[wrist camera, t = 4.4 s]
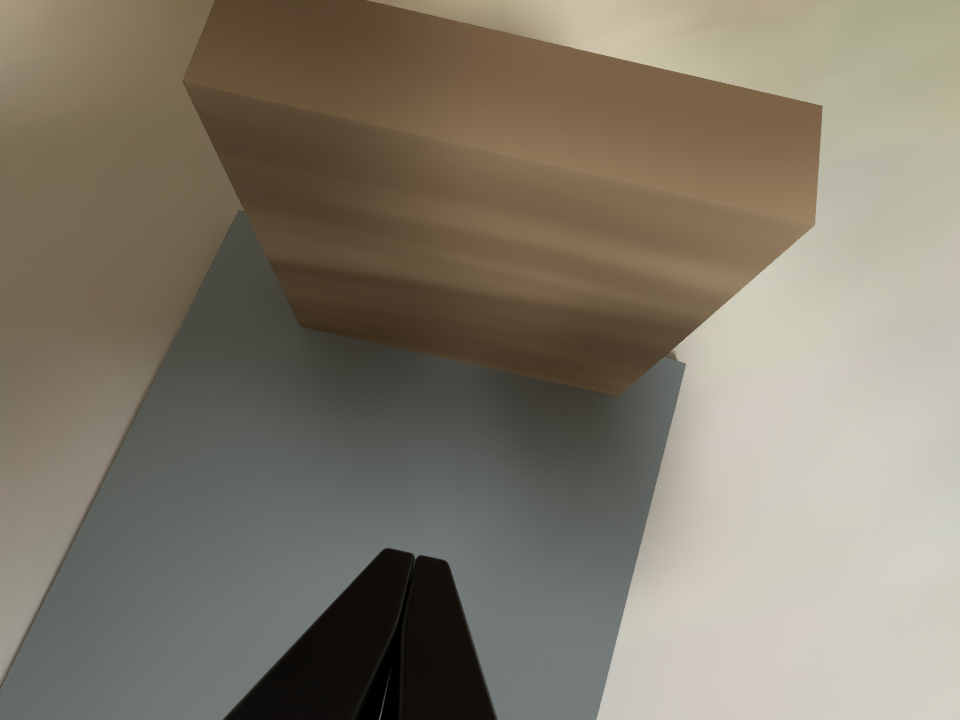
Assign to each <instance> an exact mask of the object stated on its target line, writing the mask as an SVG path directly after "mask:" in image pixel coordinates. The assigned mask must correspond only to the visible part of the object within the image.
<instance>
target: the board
mask: <svg viewBox="0 0 960 720" xmlns="http://www.w3.org/2000/svg"><path fill="white" fill-rule="evenodd" d="M183 83H184V85H185V87H186V89H187V91H188V93H189V96H190V98H191V100H192V102H193V104H194V106H195V108H196V110H197V112H198V114H199V116H200V119H201V121H202V123H203V125H204V127H205V129H206V131H207V133H208V135H209V137H210V139H211V142H212V144H213V146H214V148H215V150H216V152H217V154H218V156H219V158H220V160H221V162H222V165H223V167H224V169H225V171H226V173H227V175H228V177H229V179H230V181H231V183H232V185H233V187H234V190H235V192H236V194H237V196H238V198H239V200H240V202H241V204H242V206H243V208H244V210H245V213H246V215H247V217H248V219H249V221H250V223H251V225H252V227H253V229H254V231H255V233H256V236H257V238H258V240H259V242H260V244H261V246H262V248H263V250H264V252H265V254H266V256H267V259H268V261H269V263H270V265H271V267H272V269H273V271H274V273H275V275H276V277H277V279H278V282H279V284H280V286H281V288H282V290H283V292H284V294H285V296H286V298H287V300H288V302H289V305H290V307H291V309H292V311H293V313H294V315H295V317H296V319H297V321H298V323H299V325H300V327H305V328H309V329H314V330H318V331H323V332H328V333H332V334H337V335H341V336H346V337H350V338H355V339H359V340H364V341H368V342H373V343H377V344H382V345H386V346H391V347H396V348H400V349H405V350H409V351H414V352H418V353H423V354H427V355H432V356H436V357H441V358H445V359H450V360H455V361H459V362H464V363H468V364H473V365H477V366H482V367H486V368H491V369H495V370H500V371H504V372H509V373H514V374H518V375H523V376H527V377H532V378H536V379H541V380H545V381H550V382H554V383H559V384H563V385H568V386H573V387H577V388H582V389H586V390H591V391H595V392H600V393H604V394H609V395H613V396H620V395H621V394H622V393H623V392H624V391H625V390H626V389H628V388H629V387H630V386H631V385H632V384H633V383H634V382H636V381H637V380H638V379H639V378H640V377H641V376H642V375H644V374H645V373H646V372H647V371H648V370H649V369H650V368H652V367H653V366H654V365H655V364H656V363H657V362H658V361H660V360H661V359H662V358H663V357H664V356H665V355H666V354H668V353H669V352H670V351H671V350H672V349H673V348H675V347H676V346H677V345H678V344H679V343H680V342H681V341H683V340H684V339H685V338H686V337H687V336H688V335H689V334H691V333H692V332H693V331H694V330H695V329H696V328H697V327H699V326H700V325H701V324H702V323H703V322H704V321H705V320H707V319H708V318H709V317H710V316H711V315H712V314H713V313H715V312H716V311H717V310H718V309H719V308H720V307H721V306H723V305H724V304H725V303H726V302H727V301H728V300H729V299H731V298H732V297H733V296H734V295H735V294H736V293H737V292H739V291H740V290H741V289H742V288H743V287H744V286H746V285H747V284H748V283H749V282H750V281H751V280H752V279H754V278H755V277H756V276H757V275H758V274H759V273H760V272H762V271H763V270H764V269H765V268H766V267H767V266H768V265H770V264H771V263H772V262H773V261H774V260H775V259H776V258H778V257H779V256H780V255H781V254H782V253H783V252H784V251H786V250H787V249H788V248H789V247H790V246H791V245H792V244H794V243H795V242H796V241H797V240H798V239H799V238H800V237H802V236H803V235H804V234H805V233H806V232H807V231H808V230H810V229H811V228H812V227H813V226H814V225H815V214H816V198H817V183H818V167H819V152H820V137H821V121H822V106H821V105H816V104H812V103H808V102H803V101H799V100H795V99H790V98H786V97H782V96H777V95H773V94H769V93H764V92H760V91H756V90H751V89H747V88H743V87H739V86H734V85H730V84H726V83H721V82H717V81H713V80H708V79H704V78H700V77H695V76H691V75H687V74H682V73H678V72H674V71H669V70H665V69H661V68H656V67H652V66H648V65H643V64H639V63H635V62H630V61H626V60H622V59H617V58H613V57H609V56H604V55H600V54H596V53H591V52H587V51H583V50H578V49H574V48H570V47H566V46H561V45H557V44H553V43H548V42H544V41H540V40H535V39H531V38H527V37H522V36H518V35H514V34H509V33H505V32H501V31H496V30H492V29H488V28H483V27H479V26H475V25H470V24H466V23H462V22H457V21H453V20H449V19H444V18H440V17H436V16H431V15H427V14H423V13H418V12H414V11H410V10H405V9H401V8H397V7H392V6H388V5H384V4H380V3H375V2H371V1H367V0H215V2H214V4H213V7H212V9H211V12H210V14H209V17H208V19H207V22H206V24H205V27H204V29H203V32H202V34H201V37H200V39H199V42H198V44H197V47H196V49H195V52H194V54H193V57H192V59H191V62H190V64H189V67H188V69H187V72H186V74H185V77H184V79H183Z"/></svg>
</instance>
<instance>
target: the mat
mask: <svg viewBox="0 0 960 720" xmlns="http://www.w3.org/2000/svg"><path fill="white" fill-rule="evenodd" d="M685 366H686V364H685V363H683V362H680V361H677V360H674V359H671V358H668V357H665V356H664V357H663V358H662V359H661V360H660V361H658V362H657V363H656V364H655V365H654V366H653V367H652V368H650V369H649V370H648V371H647V372H646V373H645V374H644V375H642V376H641V377H640V378H639V379H638V380H637V381H636V382H634V383H633V384H632V385H631V386H630V387H629V388H628V389H626V390H625V391H624V392H623V393H622V394H621V395H620V396H613V395H609V394H604V393H600V392H595V391H591V390H586V389H582V388H577V387H573V386H568V385H563V384H559V383H554V382H550V381H545V380H541V379H536V378H532V377H527V376H523V375H518V374H514V373H509V372H504V371H500V370H495V369H491V368H486V367H482V366H477V365H473V364H468V363H464V362H459V361H455V360H450V359H445V358H441V357H436V356H432V355H427V354H423V353H418V352H414V351H409V350H405V349H400V348H396V347H391V346H386V345H382V344H377V343H373V342H368V341H364V340H359V339H355V338H350V337H346V336H341V335H337V334H332V333H328V332H323V331H318V330H314V329H309V328H305V327H300V325H299V323H298V321H297V319H296V317H295V315H294V313H293V311H292V309H291V307H290V305H289V302H288V300H287V298H286V296H285V294H284V292H283V290H282V288H281V286H280V284H279V282H278V279H277V277H276V275H275V273H274V271H273V269H272V267H271V265H270V263H269V261H268V259H267V256H266V254H265V252H264V250H263V248H262V246H261V244H260V242H259V240H258V238H257V236H256V233H255V231H254V229H253V227H252V225H251V223H250V221H249V219H248V217H247V215H246V213H245V212H243V211H240V210H239V211H238V213H237V215H236V217H235V219H234V221H233V223H232V225H231V227H230V229H229V231H228V233H227V235H226V237H225V239H224V241H223V243H222V245H221V247H220V249H219V251H218V253H217V255H216V257H215V259H214V261H213V263H212V265H211V267H210V269H209V271H208V273H207V275H206V277H205V279H204V281H203V283H202V285H201V287H200V289H199V291H198V293H197V295H196V297H195V299H194V301H193V304H192V306H191V308H190V310H189V312H188V314H187V316H186V318H185V320H184V322H183V324H182V326H181V328H180V330H179V332H178V334H177V336H176V338H175V340H174V342H173V344H172V346H171V348H170V350H169V352H168V354H167V356H166V358H165V360H164V362H163V364H162V366H161V368H160V370H159V372H158V374H157V376H156V378H155V380H154V382H153V384H152V386H151V388H150V390H149V392H148V394H147V396H146V398H145V400H144V402H143V404H142V406H141V408H140V410H139V412H138V414H137V416H136V418H135V420H134V422H133V424H132V426H131V428H130V430H129V432H128V434H127V436H126V438H125V440H124V442H123V444H122V446H121V448H120V450H119V452H118V454H117V456H116V458H115V460H114V462H113V464H112V466H111V468H110V470H109V472H108V474H107V476H106V478H105V480H104V482H103V484H102V486H101V488H100V490H99V492H98V494H97V496H96V498H95V500H94V502H93V504H92V506H91V508H90V510H89V512H88V514H87V516H86V518H85V520H84V522H83V524H82V526H81V528H80V530H79V532H78V534H77V536H76V538H75V540H74V542H73V544H72V546H71V548H70V550H69V552H68V554H67V556H66V558H65V560H64V562H63V564H62V566H61V568H60V570H59V572H58V574H57V576H56V578H55V580H54V582H53V584H52V586H51V588H50V590H49V592H48V594H47V596H46V598H45V600H44V602H43V604H42V606H41V608H40V610H39V612H38V614H37V616H36V618H35V620H34V622H33V624H32V626H31V628H30V630H29V632H28V634H27V636H26V638H25V640H24V642H23V644H22V646H21V648H20V650H19V652H18V654H17V656H16V658H15V660H14V662H13V664H12V666H11V668H10V670H9V672H8V674H7V676H6V678H5V680H4V682H3V684H2V686H1V688H0V720H222V719H223V718H224V717H225V716H226V715H227V714H228V713H229V712H230V711H231V710H232V709H233V708H234V707H235V706H236V705H237V703H238V702H239V701H240V700H241V699H242V698H243V697H244V696H245V695H246V694H247V693H248V692H249V691H250V690H251V689H252V688H253V686H254V685H255V684H256V683H257V682H258V681H259V680H260V679H261V678H262V677H263V676H264V675H265V674H266V673H267V672H268V671H269V669H270V668H271V667H272V666H273V665H274V664H275V663H276V662H277V661H278V660H279V659H280V658H281V657H282V656H283V655H284V654H285V653H286V651H287V650H288V649H289V648H290V647H291V646H292V645H293V644H294V643H295V642H296V641H297V640H298V639H299V638H300V637H301V636H302V634H303V633H304V632H305V631H306V630H307V629H308V628H309V627H310V626H311V625H312V624H313V623H314V622H315V621H316V620H317V619H318V618H319V616H320V615H321V614H322V613H323V612H324V611H325V610H326V609H327V608H328V607H329V606H330V605H331V604H332V603H333V602H334V601H335V599H336V598H337V597H338V596H339V595H340V594H341V593H342V592H343V591H344V590H345V589H346V588H347V587H348V586H349V585H350V584H351V583H352V581H353V580H354V579H355V578H356V577H357V576H358V575H359V574H360V573H361V572H362V571H363V570H364V569H365V568H366V567H367V566H368V564H369V563H370V562H371V561H372V560H373V559H374V558H375V557H376V556H377V555H378V554H379V553H380V552H381V551H382V550H383V549H385V548H392V549H396V550H401V551H406V552H410V553H413V554H414V556H415V560H416V558H417V557H418V556H419V555H424V556H429V557H434V558H438V559H443V560H446V561H447V562H448V564H449V566H450V569H451V572H452V575H453V578H454V581H455V584H456V588H457V591H458V594H459V597H460V600H461V603H462V607H463V610H464V613H465V616H466V619H467V622H468V626H469V629H470V632H471V635H472V638H473V641H474V645H475V648H476V651H477V654H478V657H479V660H480V664H481V667H482V670H483V673H484V676H485V679H486V683H487V686H488V689H489V692H490V695H491V699H492V702H493V705H494V708H495V711H496V714H497V718H498V720H596V719H597V715H598V711H599V707H600V703H601V699H602V695H603V691H604V687H605V683H606V679H607V675H608V671H609V667H610V663H611V659H612V655H613V651H614V647H615V643H616V639H617V635H618V631H619V628H620V624H621V620H622V616H623V612H624V608H625V604H626V600H627V596H628V592H629V588H630V584H631V580H632V576H633V572H634V568H635V564H636V560H637V556H638V552H639V548H640V544H641V540H642V536H643V532H644V528H645V524H646V520H647V516H648V512H649V508H650V505H651V501H652V497H653V493H654V489H655V485H656V481H657V477H658V473H659V469H660V465H661V461H662V457H663V453H664V449H665V445H666V441H667V437H668V433H669V429H670V425H671V421H672V417H673V413H674V409H675V405H676V401H677V397H678V393H679V389H680V385H681V381H682V378H683V374H684V370H685ZM414 563H415V562H414ZM413 568H414V567H413ZM412 572H413V571H412ZM387 684H388V683H387ZM386 689H387V688H386ZM385 693H386V692H385ZM384 698H385V697H384ZM383 703H384V701H383ZM382 707H383V705H382ZM381 712H382V710H381ZM380 717H381V714H380ZM379 720H380V718H379Z"/></svg>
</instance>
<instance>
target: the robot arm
mask: <svg viewBox="0 0 960 720" xmlns="http://www.w3.org/2000/svg"><path fill="white" fill-rule="evenodd" d="M414 562H415V563H414ZM413 567H414V568H413ZM412 571H413V572H412ZM387 683H388V684H387ZM386 688H387V689H386ZM385 692H386V693H385ZM384 697H385V698H384ZM383 701H384V703H383ZM382 705H383V707H382ZM381 710H382V712H381ZM380 714H381V717H380ZM379 718H380V720H498V718H497V714H496V711H495V708H494V705H493V702H492V699H491V695H490V692H489V689H488V686H487V683H486V679H485V676H484V673H483V670H482V667H481V664H480V660H479V657H478V654H477V651H476V648H475V645H474V641H473V638H472V635H471V632H470V629H469V626H468V622H467V619H466V616H465V613H464V610H463V607H462V603H461V600H460V597H459V594H458V591H457V588H456V584H455V581H454V578H453V575H452V572H451V569H450V566H449V564H448V562H447V561H446V560H443V559H438V558H434V557H429V556H424V555H419V556H418V557H417V558H416V560H415V556H414V554H413V553H410V552H406V551H401V550H396V549H392V548H385V549H383V550H382V551H381V552H380V553H379V554H378V555H377V556H376V557H375V558H374V559H373V560H372V561H371V562H370V563H369V564H368V566H367V567H366V568H365V569H364V570H363V571H362V572H361V573H360V574H359V575H358V576H357V577H356V578H355V579H354V580H353V581H352V583H351V584H350V585H349V586H348V587H347V588H346V589H345V590H344V591H343V592H342V593H341V594H340V595H339V596H338V597H337V598H336V599H335V601H334V602H333V603H332V604H331V605H330V606H329V607H328V608H327V609H326V610H325V611H324V612H323V613H322V614H321V615H320V616H319V618H318V619H317V620H316V621H315V622H314V623H313V624H312V625H311V626H310V627H309V628H308V629H307V630H306V631H305V632H304V633H303V634H302V636H301V637H300V638H299V639H298V640H297V641H296V642H295V643H294V644H293V645H292V646H291V647H290V648H289V649H288V650H287V651H286V653H285V654H284V655H283V656H282V657H281V658H280V659H279V660H278V661H277V662H276V663H275V664H274V665H273V666H272V667H271V668H270V669H269V671H268V672H267V673H266V674H265V675H264V676H263V677H262V678H261V679H260V680H259V681H258V682H257V683H256V684H255V685H254V686H253V688H252V689H251V690H250V691H249V692H248V693H247V694H246V695H245V696H244V697H243V698H242V699H241V700H240V701H239V702H238V703H237V705H236V706H235V707H234V708H233V709H232V710H231V711H230V712H229V713H228V714H227V715H226V716H225V717H224V718H223V719H222V720H379Z"/></svg>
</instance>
